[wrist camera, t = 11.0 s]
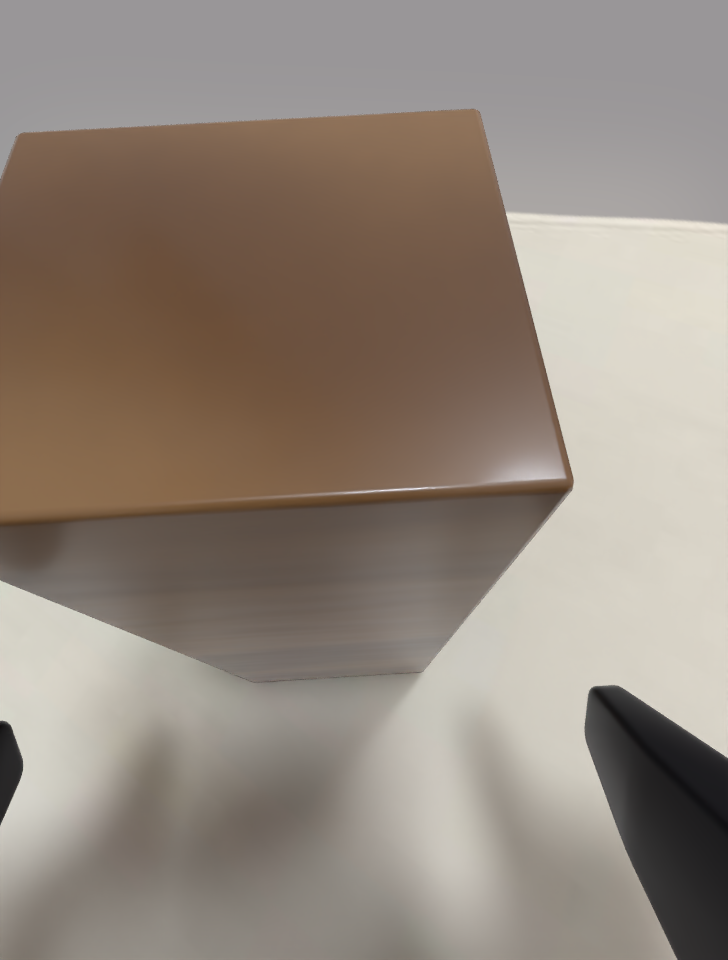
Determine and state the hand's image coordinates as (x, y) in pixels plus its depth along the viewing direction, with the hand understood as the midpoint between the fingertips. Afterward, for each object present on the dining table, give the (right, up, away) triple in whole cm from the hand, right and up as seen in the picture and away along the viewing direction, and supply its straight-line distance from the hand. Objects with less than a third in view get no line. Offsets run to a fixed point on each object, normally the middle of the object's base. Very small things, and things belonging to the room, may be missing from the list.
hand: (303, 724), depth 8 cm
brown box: (0, 0, +10) cm, 10 cm away
